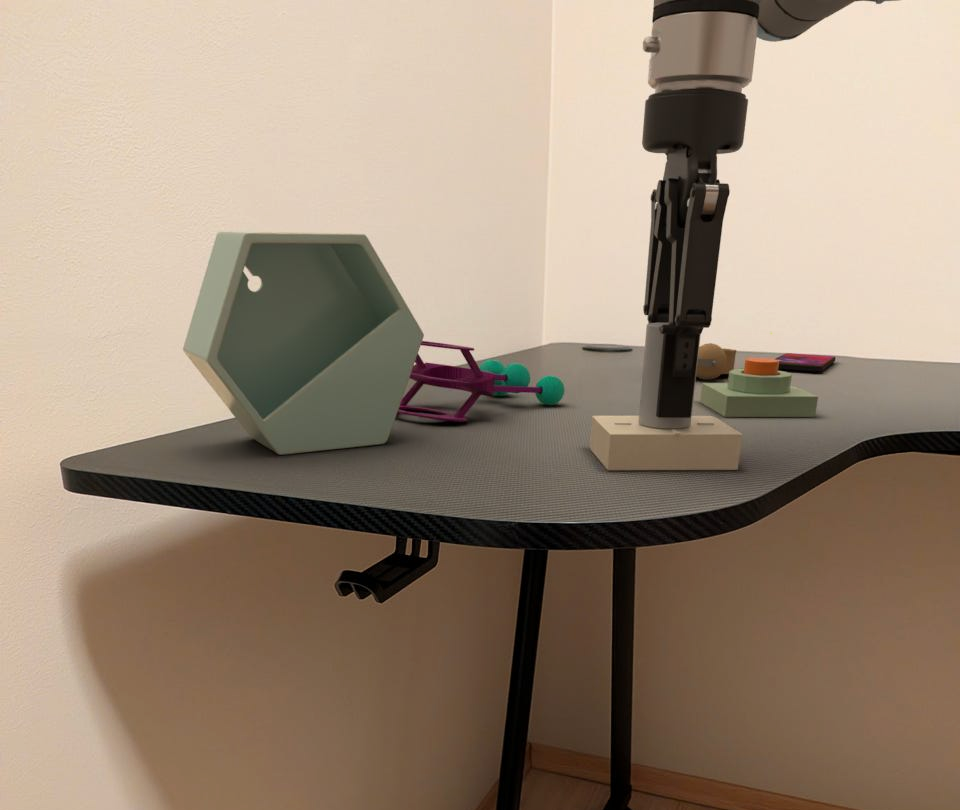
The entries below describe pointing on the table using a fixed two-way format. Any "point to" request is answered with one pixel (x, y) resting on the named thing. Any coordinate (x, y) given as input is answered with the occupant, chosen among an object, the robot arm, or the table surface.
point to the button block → (758, 396)
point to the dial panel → (665, 445)
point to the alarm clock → (714, 361)
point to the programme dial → (656, 383)
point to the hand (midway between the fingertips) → (665, 410)
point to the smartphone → (804, 362)
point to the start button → (761, 366)
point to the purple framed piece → (476, 382)
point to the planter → (304, 339)
